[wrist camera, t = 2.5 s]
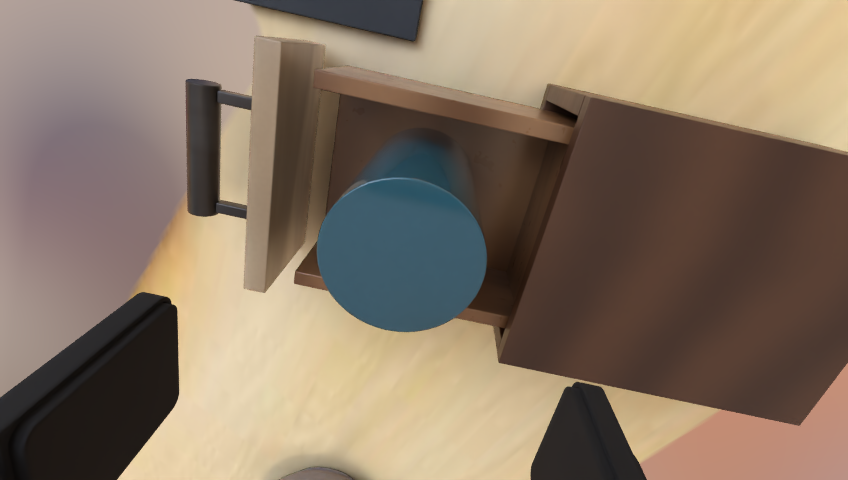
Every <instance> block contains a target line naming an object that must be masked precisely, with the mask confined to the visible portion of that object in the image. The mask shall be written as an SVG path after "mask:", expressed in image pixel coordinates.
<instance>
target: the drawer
mask: <svg viewBox="0 0 848 480" xmlns="http://www.w3.org/2000/svg"><path fill="white" fill-rule="evenodd" d="M324 55H325V45H324V44H320V43H316V42H311V41H307V40H297V39H286V38H275V37H264V36H255V38H254V61H253V62H254V63H253V84H252V96H248V95H244V94H239V93H235V92H230V91H226V90H221V85H220V84H218V83H215V82H211V81H206V80H199V79H188V80H186V131H187V132H186V135H187V198H188V212H189V213H190V214H192V215H196V216H203V217H207V216H214V215H216V214H218V213H221V214H226V215H230V216H235V217H240V218H244V219H247V222H246V245H245V268H244V289H248V290H253V291H258V292H262V293H265V292H266V291H267V290H268V288H269V287H270V286H271V285H272V283H273V282H274V281H275V279H276V278H277V277H278V276H279V274H280V273H281V272H282V270H283V269H284V268H285V267H286V265H287V264H288V263H289V262H290V260H291V259H292V258H293V256H294V255H295V254H296V253H297V251H298V250H299V249H300V248H301V246H302V245H303V244H304V242H305V237H306V227H307V217H308V208H309V198H310V189H311V179H312V170H313V160H314V151H315V141H316V132H317V122H318V113H319V103H320V94H321V90H326V91H330V92H335V93H339V94H340V101H339V109H338V117H337V126H336V134H335V142H334V150H333V158H332V166H331V174H330V183H329V191H328V199H327V207H326V215H327V213H328V212H329V211H330V209H331V208H332V207H333V205H334V204H335V203H336V201H337V200H338V199H339V198H340V196H341V195H342V194H343V193H344V191H345V190H346V189H347V187H348V186H349V185H350V184H351V182H352V181H353V180H354V179H355V177H356V176H357V175H358V173H359V172H360V171H361V170H362V168H363V167H364V166H365V165H366V163H367V162H368V161H369V160H370V158H371V157H372V156H373V154H374V153H375V152H376V151H377V149H378V148H379V147H380V146H381V145H382V144H383V143H384V141H386V140H387V139H388V138H389V137H391V136H392V135H394V134H396V133H398V132H401V131H403V130H407V129H411V128H429V129H434V130H437V131H440V132H442V133H445V134H447V135H448V136H450V137H451V138H453V139H454V140H455V141H456V142H458V144H459V145H460V146H461V147H462V148H463V149H464V151H465V152H466V154H467V155H468V157H469V159H470V162H471V165H472V168H473V173H474V179H475V184H476V190H477V196H478V202H479V208H480V213H481V219H482V225H483V231H484V236H485V242H486V248H487V268H486V273H485V277H484V280H483V283H482V286H481V288H480V290H479V292H478V293H477V295H476V297H475V298H474V299H473V301H472V302H471V303H470V305H469V306H468V307H467V308H466V309H465V310H464V311H463V312H461V313H460V314H459V315H457V316H456V317H455V318H459V319H463V320H468V321H473V322H478V323H482V324H487V325H492V326H496V327H501V328H506V325H507V322H508V319H509V316H510V314H511V311H512V308H513V305H514V302H515V299H516V296H517V293H518V290H519V287H520V284H521V282H522V279H523V276H524V273H525V270H526V267H527V264H528V261H529V258H530V255H531V252H532V250H533V247H534V244H535V241H536V238H537V235H538V232H539V229H540V226H541V223H542V220H543V218H544V215H545V212H546V209H547V206H548V203H549V200H550V197H551V194H552V191H553V188H554V186H555V183H556V180H557V177H558V174H559V171H560V168H561V165H562V162H563V159H564V156H565V154H566V151H567V148H568V145H569V142H570V139H571V136H572V133H573V130H574V127H575V124H576V122H577V120H575V119H574V118H572V117H570V116H568V115H565V114H560V113H556V112H552V111H547V110H543V109H538V108H534V107H529V106H525V105H521V104H516V103H512V102H507V101H503V100H498V99H494V98H490V97H485V96H481V95H476V94H472V93H467V92H463V91H459V90H454V89H450V88H445V87H441V86H436V85H432V84H428V83H423V82H419V81H414V80H410V79H405V78H401V77H397V76H392V75H388V74H383V73H379V72H374V71H370V70H366V69H361V68H357V67H352V66H348V65H347V66H339V67H330V68H323V65H324ZM221 104H225V105H230V106H234V107H239V108H243V109H248V110H251V130H250V153H249V176H248V199H247V206H246V205H242V204H237V203H232V202H228V201H223V200H220V149H221ZM326 215H325V217H326ZM294 284H298V285H303V286H308V287H312V288H317V289H322V290H327V291H328V289H327V287H326V285H325V283H324V281H323V279H322V276H321V274H320V270H319V266H318V261H317V242H316V244H315V245H314V246H313V248H312V249H311V250H310V252H309V253H308V255H307V256H306V257H305V259H304V260H303V261H302V263H301V264H300V266H299V267H298V268H297V270H296V271H295V278H294Z"/></svg>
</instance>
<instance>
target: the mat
mask: <svg viewBox="0 0 848 480" xmlns="http://www.w3.org/2000/svg"><path fill="white" fill-rule="evenodd" d="M235 1H240V2H244V3H248V4H253V5H257V6H262V7H266V8H270V9H275V10H279V11H283V12H288V13H292V14H297V15H301V16H305V17H310V18H314V19H319V20H323V21H327V22H332V23H336V24H340V25H345V26H349V27H354V28H358V29H362V30H367V31H371V32H376V33H380V34H384V35H389V36H393V37H397V38H402V39H406V40H411V41H416V37H417V31H418V26H419V20H420V15H421V9H422V4H423V0H235Z"/></svg>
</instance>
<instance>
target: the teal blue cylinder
mask: <svg viewBox="0 0 848 480" xmlns="http://www.w3.org/2000/svg"><path fill="white" fill-rule="evenodd" d="M317 261H318V266H319V270H320V274H321V276H322V279H323V281H324V283H325V285H326V287H327V289H328V291H329V292H330V293H331V295H332V296H333V298H334V299H335V300H336V301H337V302H338V303H339V304H340V305H341V306H342V307H343V308H344V309H345V310H346V311H347V312H349V313H350V314H351V315H353V316H354V317H356V318H357V319H359V320H361V321H363V322H365V323H367V324H369V325H372V326H374V327H377V328H381V329H385V330H390V331H396V332H415V331H422V330H428V329H431V328H434V327H437V326H440V325H442V324H444V323H446V322H448V321H450V320H452V319H453V318H455V317H456V316H457V315H459V314H460V313H461V312H463V311H464V310H465V309H466V308H467V307H468V306H469V305H470V303H471V302H472V301H473V299H474V298H475V297H476V295H477V293H478V292H479V290H480V288H481V286H482V283H483V280H484V277H485V273H486V268H487V248H486V242H485V236H484V231H483V225H482V219H481V213H480V208H479V202H478V196H477V190H476V184H475V179H474V173H473V168H472V165H471V162H470V159H469V157H468V155H467V154H466V152H465V151H464V149H463V148H462V147H461V146H460V145H459V144H458V142H456V141H455V140H454V139H453V138H451V137H450V136H448V135H447V134H445V133H442V132H440V131H437V130H434V129H429V128H411V129H407V130H403V131H401V132H398V133H396V134H394V135H392V136H391V137H389V138H388V139H387V140H386V141H384V143H383V144H382V145H381V146H380V147H379V148H378V149H377V151H376V152H375V153H374V154H373V156H372V157H371V158H370V160H369V161H368V162H367V163H366V165H365V166H364V167H363V168H362V170H361V171H360V172H359V173H358V175H357V176H356V177H355V179H354V180H353V181H352V182H351V184H350V185H349V186H348V187H347V189H346V190H345V191H344V193H343V194H342V195H341V196H340V198H339V199H338V200H337V201H336V203H335V204H334V205H333V207H332V208H331V209H330V211H329V212H328V213H327V215H326V217H325V219H324V221H323V223H322V225H321V228H320V231H319V235H318V240H317Z"/></svg>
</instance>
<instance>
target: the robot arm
mask: <svg viewBox="0 0 848 480" xmlns="http://www.w3.org/2000/svg"><path fill="white" fill-rule="evenodd" d="M178 396H179V366H178V321H177V307H176V306H175V305H172V304H171V300H170V299H169V298H168V297H164V296H160V295H155V294H150V293H145V292H142V293H139V294H137V295H136V296H134V297H133V298H132V299H130V300H129V301H128V302H126V303H125V304H124V305H123V306H121V307H120V308H118V309H117V310H116V311H114V312H113V313H112V314H110V315H109V316H108V317H107V318H105V319H104V320H103V321H101V322H100V323H99V324H97V325H96V326H95V327H93V328H92V329H91V330H89V331H88V332H87V333H85V334H84V335H83V336H81V337H80V338H79V339H77V340H76V341H75V342H73V343H72V344H71V345H69V346H68V347H67V348H65V349H64V350H63V351H61V352H60V353H59V354H58V355H56V356H55V357H54V358H52V359H51V360H49V361H48V362H47V363H45V364H44V365H43V366H42V367H40V368H39V369H38V370H36V371H35V372H34V373H32V374H31V375H30V376H28V377H27V378H26V379H24V380H23V381H22V382H21V383H19V384H18V385H17V386H15V387H14V388H12V389H11V390H10V391H8V392H7V393H6V394H4V395H3V396H2V397H0V480H117V479H118V478H119V476H120V475H121V474H122V473H123V471H124V470H125V469H126V467H127V466H128V465H129V464H130V462H131V461H132V460H133V459H134V457H135V456H136V455H137V454H138V452H139V451H140V450H141V449H142V447H143V446H144V445H145V443H146V442H147V441H148V440H149V438H150V437H151V436H152V435H153V433H154V432H155V431H156V430H157V428H158V427H159V426H160V424H161V423H162V422H163V421H164V419H165V418H166V417H167V416H168V414H169V413H170V412H171V411H172V409H173V408H174V406H175V404H176V402H177V400H178ZM531 480H647V479H646V477H645V475H644V473H643V471H642V468H641V466H640V464H639V462H638V460H637V459H636V457H635V456H634V455H633V453H632V451H631V448H630V446H629V444H628V442H627V440H626V438H625V436H624V433H623V431H622V429H621V427H620V425H619V423H618V420H617V418H616V416H615V414H614V412H613V410H612V407H611V405H610V403H609V401H608V399H607V397H606V394H605V392H604V390H603V389H602V388H601V387H599V386H594V385H590V384H585V383H580V382H575V383H574V384H573V386H572V387H566V388H565V390H564V391H563V394H562V396H561V398H560V401H559V403H558V405H557V408H556V410H555V412H554V414H553V417H552V419H551V421H550V424H549V426H548V428H547V431H546V433H545V435H544V438H543V440H542V442H541V444H540V447H539V449H538V451H537V454H536V456H535V458H534V461H533V463H532V466H531Z"/></svg>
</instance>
